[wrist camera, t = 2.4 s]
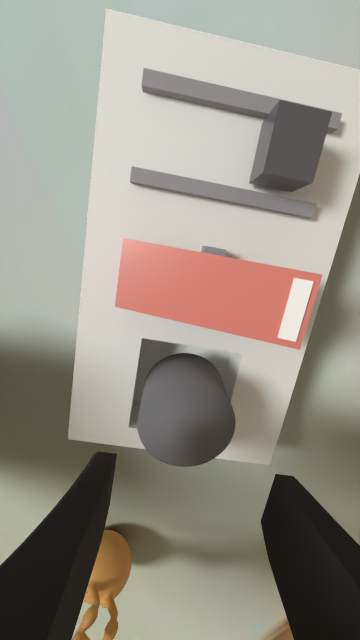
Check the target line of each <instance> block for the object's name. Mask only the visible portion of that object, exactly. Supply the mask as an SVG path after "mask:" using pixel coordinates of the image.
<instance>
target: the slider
mask: <svg viewBox="0 0 360 640" xmlns="http://www.w3.org/2000/svg"><path fill="white" fill-rule="evenodd" d="M331 115H332V112H331V111H327V110H322V109H318V108H314V107H309V106H305V105H300V104H296V103H292V102H287V101H283V100H279V101H278V103H277V104H276V105H275V107H274V108H273V109H272V111H271V112H270V113H269V115H268V116H267V117H266V119H265V120H264V121H263V123H262V126H261V131H260V135H259V140H258V145H257V149H256V154H255V158H254V163H253V167H252V172H251V176H250V181H249V184H254V185H259V186H264V187H269V188H273V189H278V190H283V191H288V192H293V191H296V190H298V189H300V188H302V187H305V186H307V185H309V184H311V183H313V181H314V178H315V174H316V170H317V167H318V163H319V159H320V156H321V152H322V148H323V145H324V141H325V137H326V134H327V130H328V126H329V123H330V119H331Z"/></svg>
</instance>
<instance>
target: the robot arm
mask: <svg viewBox="0 0 360 640" xmlns="http://www.w3.org/2000/svg"><path fill="white" fill-rule="evenodd" d="M116 456H117V454H113V453H105V452H97V453H95V454H94V455H93V457H92V458H91V460H90V461H89V463H88V464H87V466H86V467H85V469H84V470H83V472H82V473H81V474H80V476H79V477H78V478H77V480H76V481H75V482H74V484H73V485H72V486H71V488H70V489H69V490H68V491H67V493H66V494H65V495H64V496H63V497H62V499H61V500H60V501H59V502H58V504H57V505H56V506H55V507H54V508H53V510H52V511H51V512H50V513H49V514H48V515H47V516H46V518H45V519H44V520H43V521H42V522H41V523H40V524H39V525H38V526H37V528H36V529H35V530H34V531H33V532H32V533H31V534H30V535H29V536H28V538H27V539H26V540H25V541H24V542H23V543H22V544H21V545H20V546H19V547H18V548H17V549H16V550H15V551H14V552H13V553H12V554H11V555H10V556H9V557H8V558H7V559H6V560H5V561H4V562H3V563H2V564H1V565H0V640H71V639H72V636H73V632H74V629H75V626H76V623H77V619H78V616H79V613H80V610H81V606H82V603H83V600H84V597H85V593H86V590H87V587H88V584H89V580H90V577H91V574H92V571H93V567H94V564H95V561H96V558H97V554H98V551H99V548H100V544H101V541H102V537H103V532H104V528H105V523H106V518H107V514H108V509H109V505H110V498H111V491H112V484H113V477H114V470H115V463H116ZM261 525H262V530H263V535H264V540H265V545H266V550H267V554H268V559H269V562H270V565H271V568H272V572H273V575H274V578H275V581H276V584H277V588H278V591H279V594H280V597H281V600H282V603H283V606H284V609H285V612H286V616H287V619H288V622H289V625H290V628H291V631H292V634H293V637H294V640H360V546H359V545H358V544H357V543H356V541H355V540H354V539H353V538H352V537H351V536H350V535H349V534H348V533H347V532H346V531H345V530H344V529H343V528H342V527H341V526H340V525H339V524H338V523H337V522H336V521H335V520H334V519H333V518H332V516H331V515H330V514H329V513H328V512H327V511H326V510H325V509H324V508H323V507H322V506H321V505H320V504H319V503H318V502H317V501H316V499H315V498H314V497H313V496H312V495H311V494H310V493H309V492H308V491H307V490H306V489H305V488H304V487H303V486H302V485H301V484H300V483H299V482H298V481H297V480H296V479H295V478H294V477H293V476H287V475H279V474H276V475H275V478H274V481H273V484H272V488H271V491H270V494H269V497H268V500H267V503H266V507H265V510H264V513H263V516H262V519H261Z"/></svg>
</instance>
